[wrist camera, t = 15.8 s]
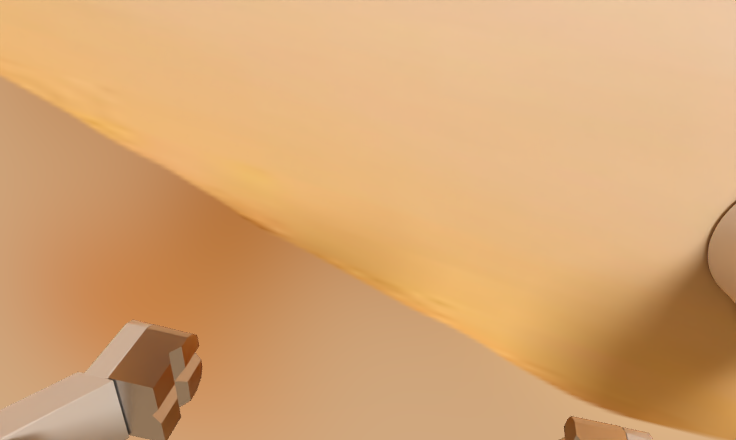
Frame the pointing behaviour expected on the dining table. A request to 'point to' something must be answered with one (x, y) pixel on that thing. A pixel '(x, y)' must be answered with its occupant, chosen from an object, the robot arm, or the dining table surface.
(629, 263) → the dining table surface
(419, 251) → the dining table surface
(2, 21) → the dining table surface
